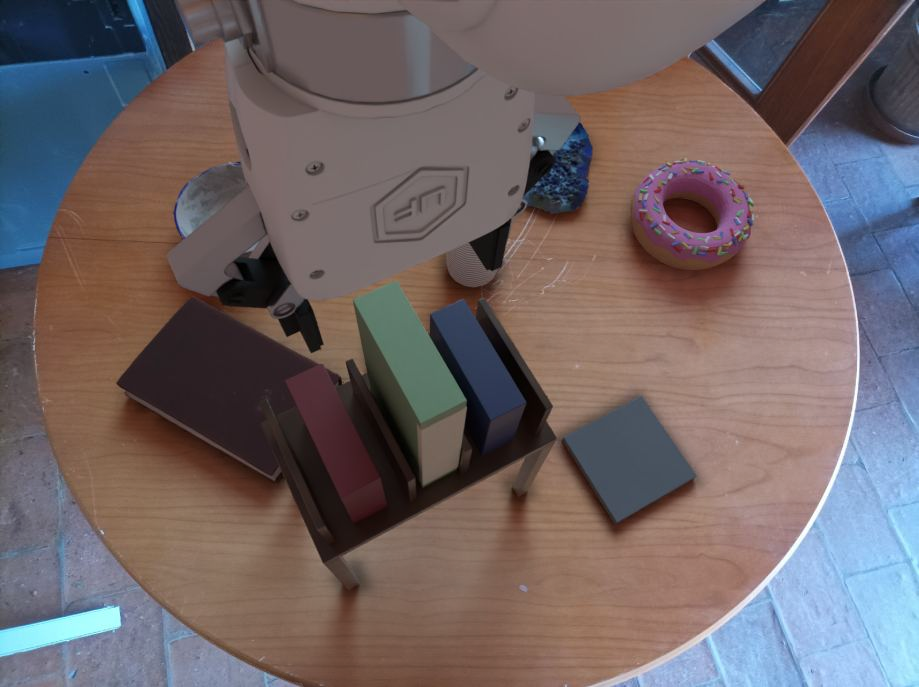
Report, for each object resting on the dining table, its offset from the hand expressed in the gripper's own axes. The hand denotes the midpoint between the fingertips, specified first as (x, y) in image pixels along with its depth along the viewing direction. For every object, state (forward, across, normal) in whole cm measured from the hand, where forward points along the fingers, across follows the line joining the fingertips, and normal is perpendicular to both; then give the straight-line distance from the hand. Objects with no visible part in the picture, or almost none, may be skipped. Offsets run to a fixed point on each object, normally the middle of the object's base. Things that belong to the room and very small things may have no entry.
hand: (395, 286), depth 35 cm
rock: (+41, +31, +29) cm, 59 cm away
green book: (+22, 0, 0) cm, 22 cm away
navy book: (+22, +6, 0) cm, 23 cm away
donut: (+40, +44, +12) cm, 61 cm away
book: (+41, -12, +17) cm, 46 cm away
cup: (+41, +18, +19) cm, 49 cm away
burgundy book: (+22, -5, 0) cm, 23 cm away
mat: (+40, +21, -9) cm, 46 cm away
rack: (+40, 0, -1) cm, 40 cm away
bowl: (+41, -4, +36) cm, 55 cm away
